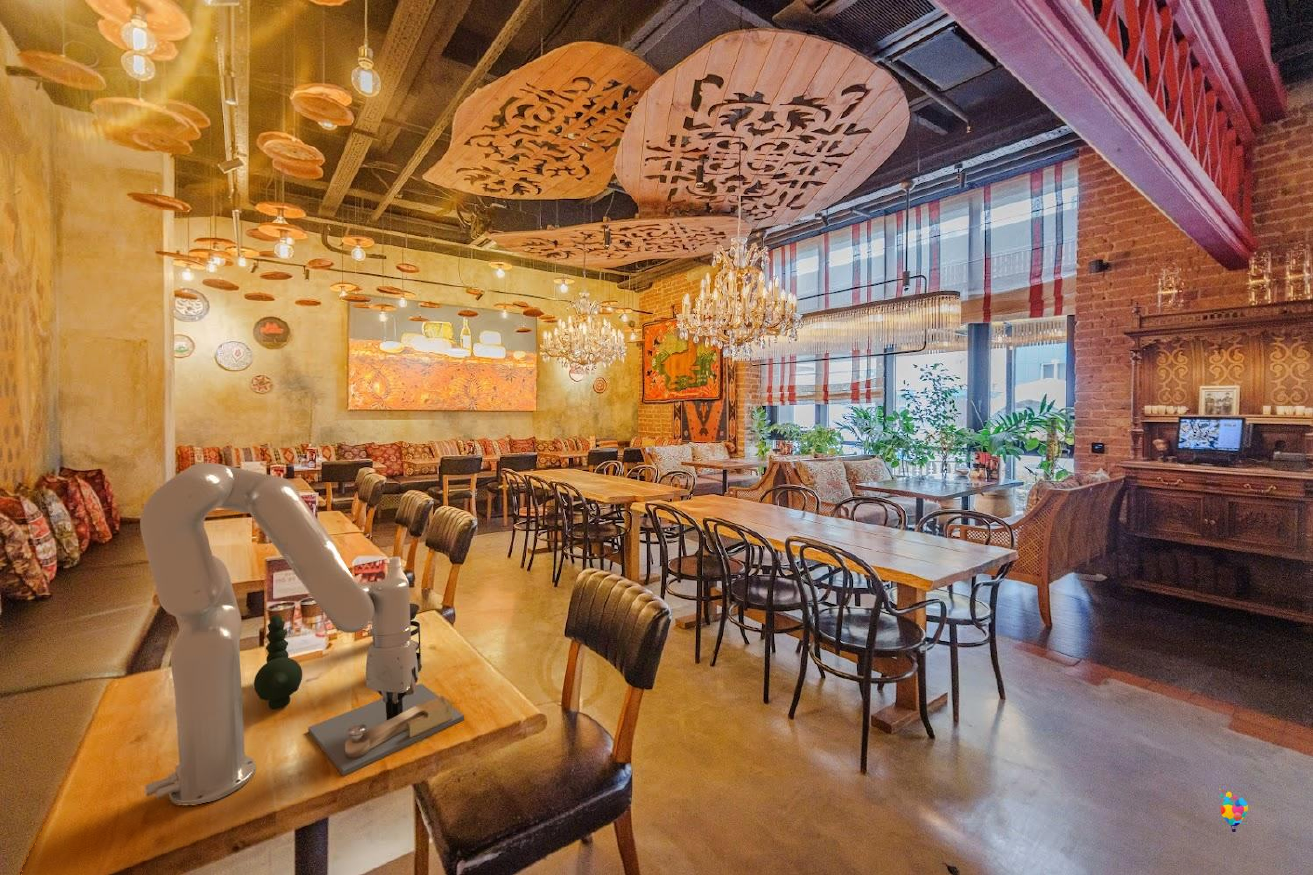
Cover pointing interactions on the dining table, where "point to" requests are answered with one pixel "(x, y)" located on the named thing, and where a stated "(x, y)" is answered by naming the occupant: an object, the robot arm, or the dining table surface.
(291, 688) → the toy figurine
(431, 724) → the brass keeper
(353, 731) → the steel pin
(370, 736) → the beech link
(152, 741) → the dining table surface
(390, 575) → the water bottle
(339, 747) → the charcoal board
